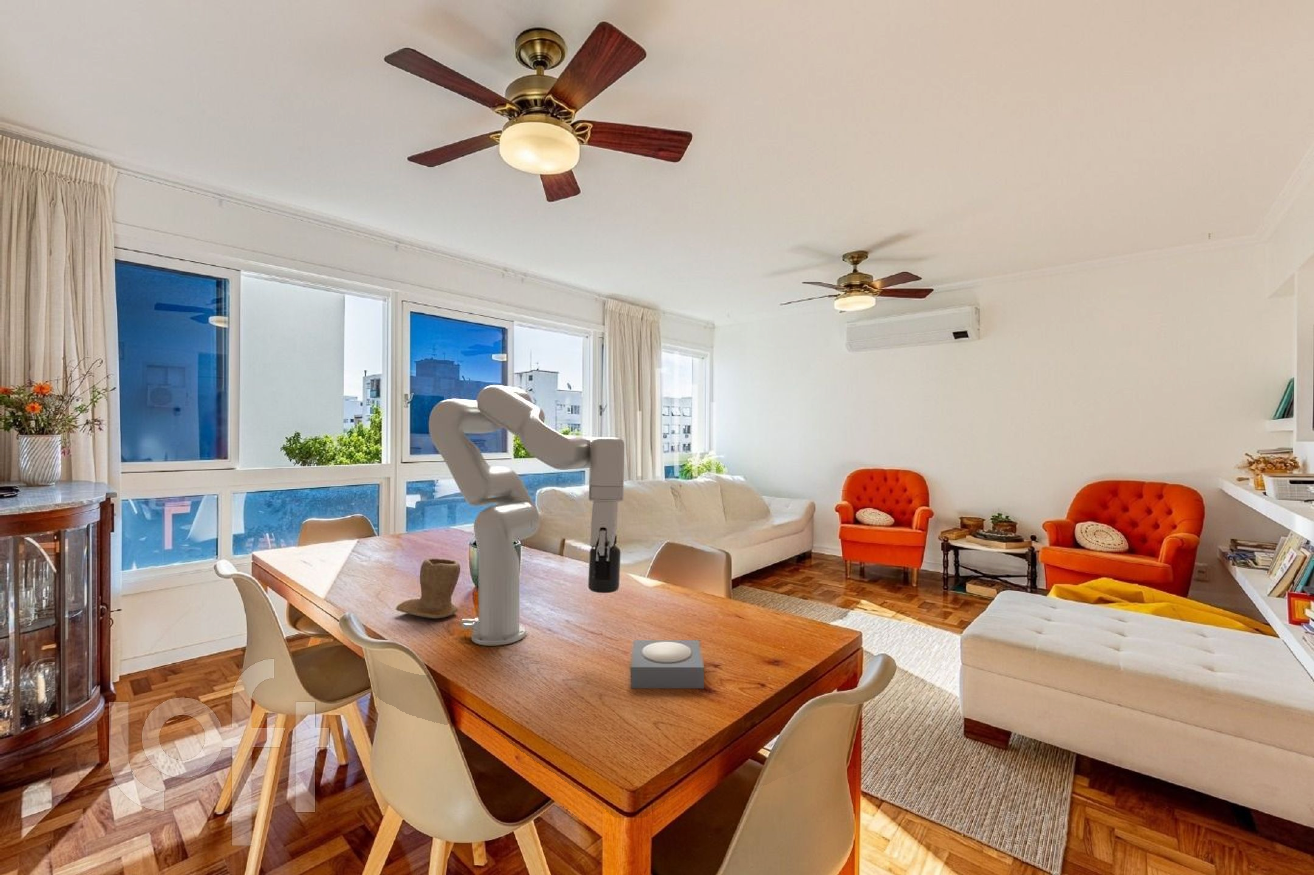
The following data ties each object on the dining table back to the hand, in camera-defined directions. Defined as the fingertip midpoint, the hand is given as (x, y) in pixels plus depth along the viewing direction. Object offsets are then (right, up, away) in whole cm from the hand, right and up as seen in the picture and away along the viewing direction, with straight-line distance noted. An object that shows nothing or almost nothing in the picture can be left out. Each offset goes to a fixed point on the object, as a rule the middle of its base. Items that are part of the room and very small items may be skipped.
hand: (604, 574), depth 119 cm
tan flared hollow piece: (-49, -18, +29) cm, 60 cm away
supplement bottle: (0, -4, 0) cm, 4 cm away
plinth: (+13, -18, -8) cm, 24 cm away
